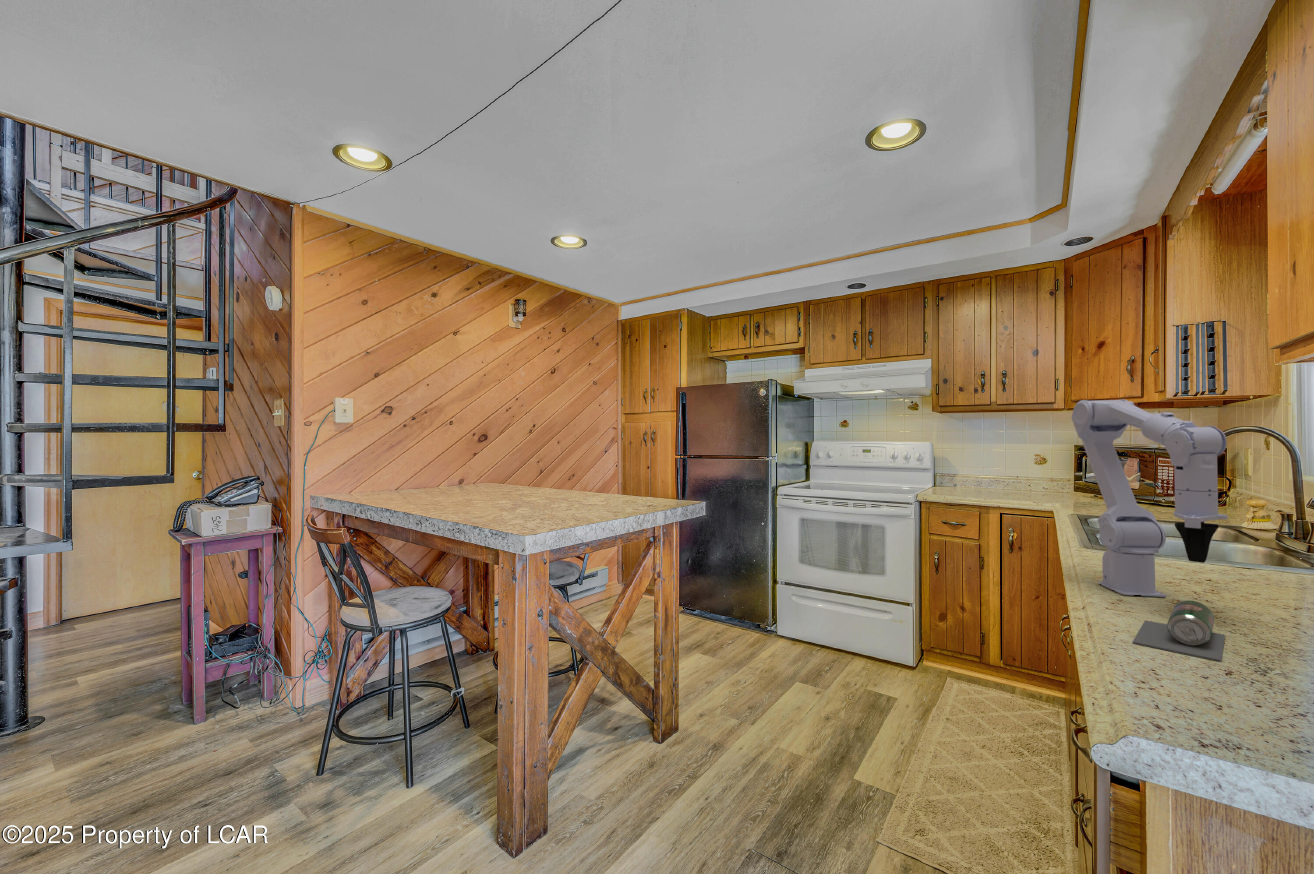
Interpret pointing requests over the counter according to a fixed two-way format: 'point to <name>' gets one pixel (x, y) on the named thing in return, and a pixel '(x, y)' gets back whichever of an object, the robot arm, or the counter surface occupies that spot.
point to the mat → (1162, 639)
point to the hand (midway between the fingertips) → (1197, 561)
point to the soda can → (1191, 623)
